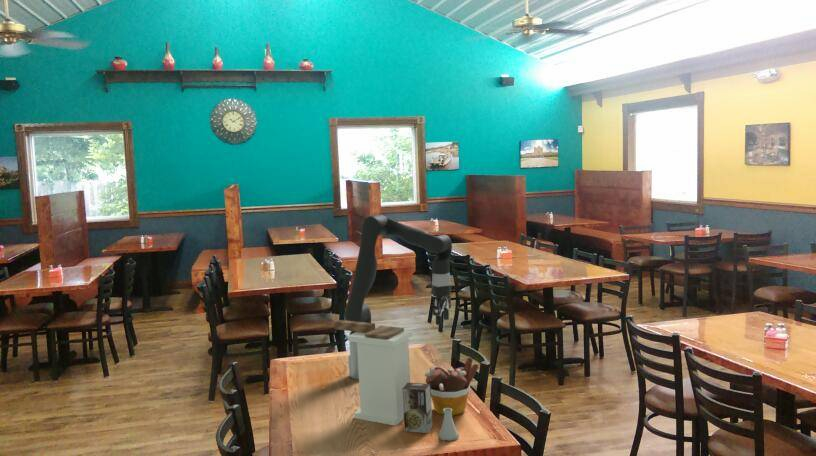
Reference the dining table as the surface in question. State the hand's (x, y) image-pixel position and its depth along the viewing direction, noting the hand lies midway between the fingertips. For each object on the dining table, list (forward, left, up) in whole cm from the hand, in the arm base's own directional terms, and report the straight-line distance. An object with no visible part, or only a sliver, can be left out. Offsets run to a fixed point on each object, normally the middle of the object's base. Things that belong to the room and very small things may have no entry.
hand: (442, 322), depth 271 cm
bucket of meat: (+12, -19, -29) cm, 37 cm away
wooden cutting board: (-17, -33, +3) cm, 37 cm away
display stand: (-10, -33, -29) cm, 45 cm away
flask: (+21, -41, -30) cm, 54 cm away
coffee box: (+8, -39, -29) cm, 49 cm away
